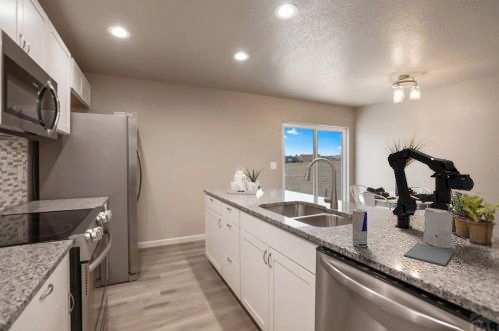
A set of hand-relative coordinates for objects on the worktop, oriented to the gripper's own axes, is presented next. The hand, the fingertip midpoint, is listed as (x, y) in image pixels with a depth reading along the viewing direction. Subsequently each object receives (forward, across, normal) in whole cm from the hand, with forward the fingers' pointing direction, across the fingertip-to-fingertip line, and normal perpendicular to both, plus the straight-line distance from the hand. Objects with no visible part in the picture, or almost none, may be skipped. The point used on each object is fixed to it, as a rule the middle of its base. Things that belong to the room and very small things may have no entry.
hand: (442, 223), depth 108 cm
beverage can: (+7, +34, -22) cm, 41 cm away
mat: (+7, +25, 0) cm, 26 cm away
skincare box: (+7, +11, 0) cm, 13 cm away
